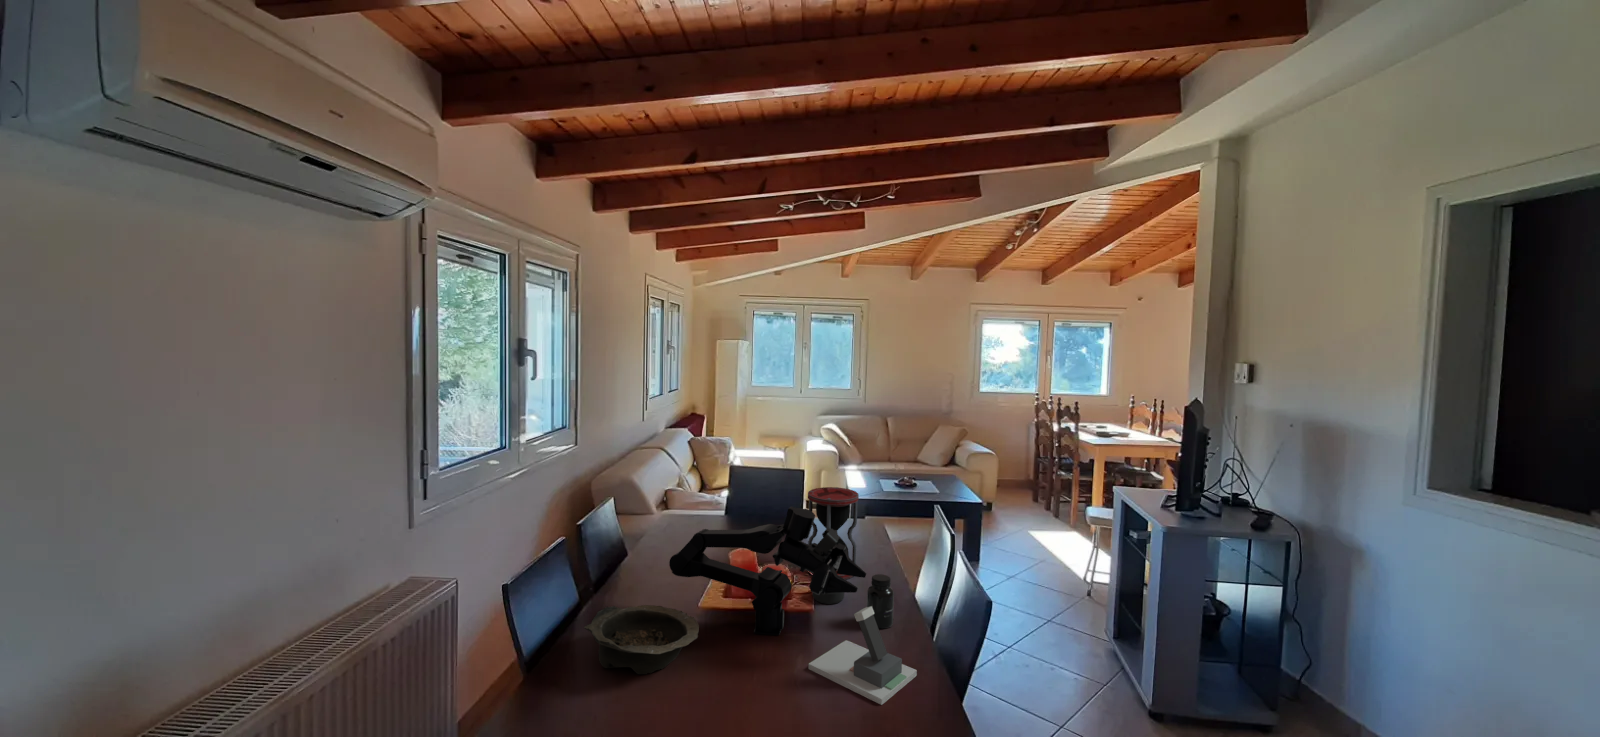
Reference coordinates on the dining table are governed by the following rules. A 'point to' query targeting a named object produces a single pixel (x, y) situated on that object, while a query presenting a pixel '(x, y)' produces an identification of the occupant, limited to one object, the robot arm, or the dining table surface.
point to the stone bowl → (641, 636)
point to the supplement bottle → (881, 600)
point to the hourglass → (834, 512)
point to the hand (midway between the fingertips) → (861, 582)
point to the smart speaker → (828, 597)
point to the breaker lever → (871, 633)
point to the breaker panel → (846, 678)
